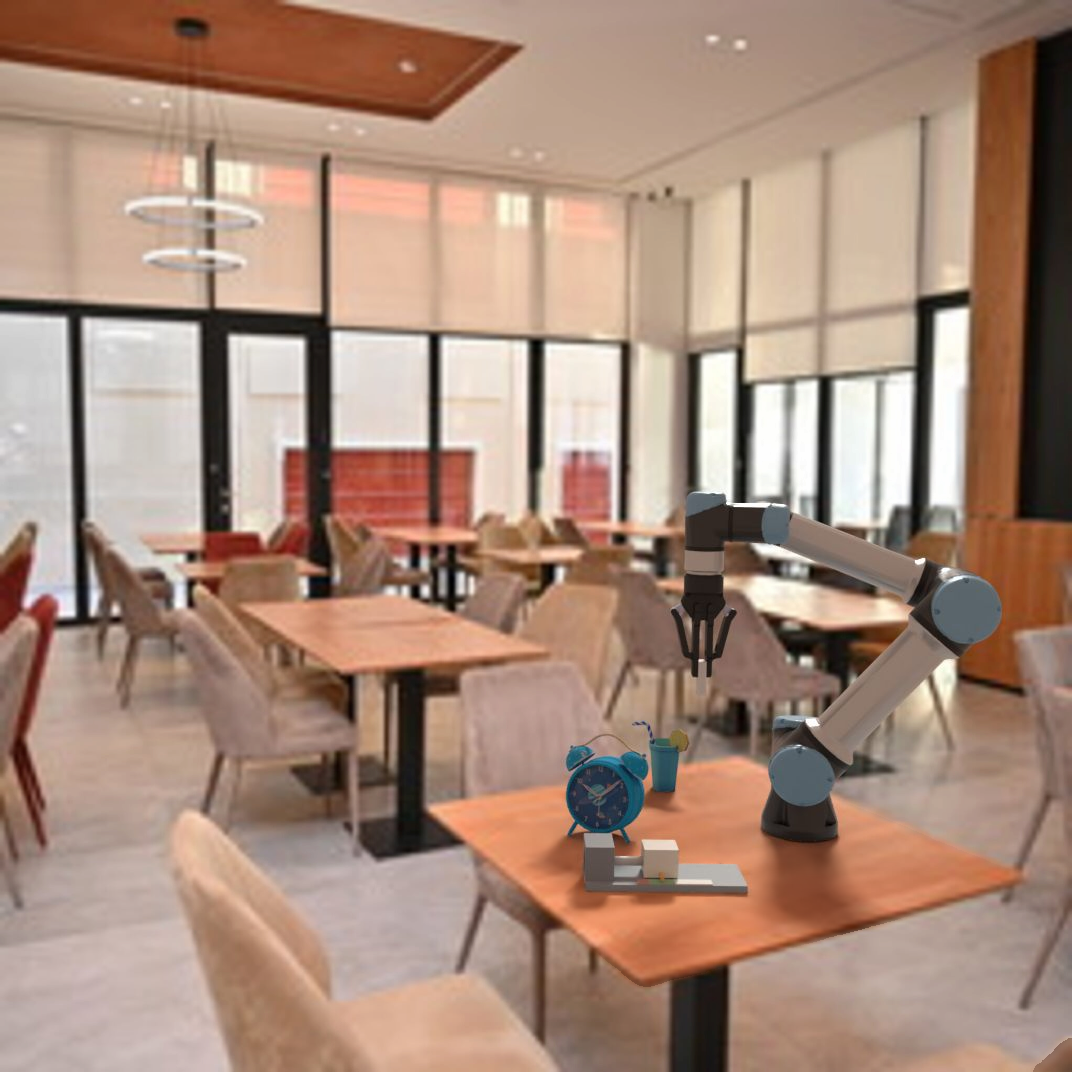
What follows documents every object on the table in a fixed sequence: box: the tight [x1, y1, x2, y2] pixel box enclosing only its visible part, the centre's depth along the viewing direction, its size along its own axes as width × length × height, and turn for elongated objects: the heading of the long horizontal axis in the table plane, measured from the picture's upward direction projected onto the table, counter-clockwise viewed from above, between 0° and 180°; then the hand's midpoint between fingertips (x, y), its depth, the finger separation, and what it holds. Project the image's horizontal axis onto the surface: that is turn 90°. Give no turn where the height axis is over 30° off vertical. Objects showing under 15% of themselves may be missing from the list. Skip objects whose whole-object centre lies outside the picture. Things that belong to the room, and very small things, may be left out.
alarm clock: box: [565, 732, 650, 845], centre depth 210 cm, size 17×10×20 cm, turn 70°
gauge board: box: [582, 832, 749, 894], centre depth 189 cm, size 28×10×7 cm, turn 90°
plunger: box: [614, 839, 680, 881], centre depth 187 cm, size 14×7×5 cm, turn 90°
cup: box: [631, 720, 690, 793], centre depth 241 cm, size 14×8×15 cm, turn 65°
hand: (700, 693), depth 206 cm, fingers closed
